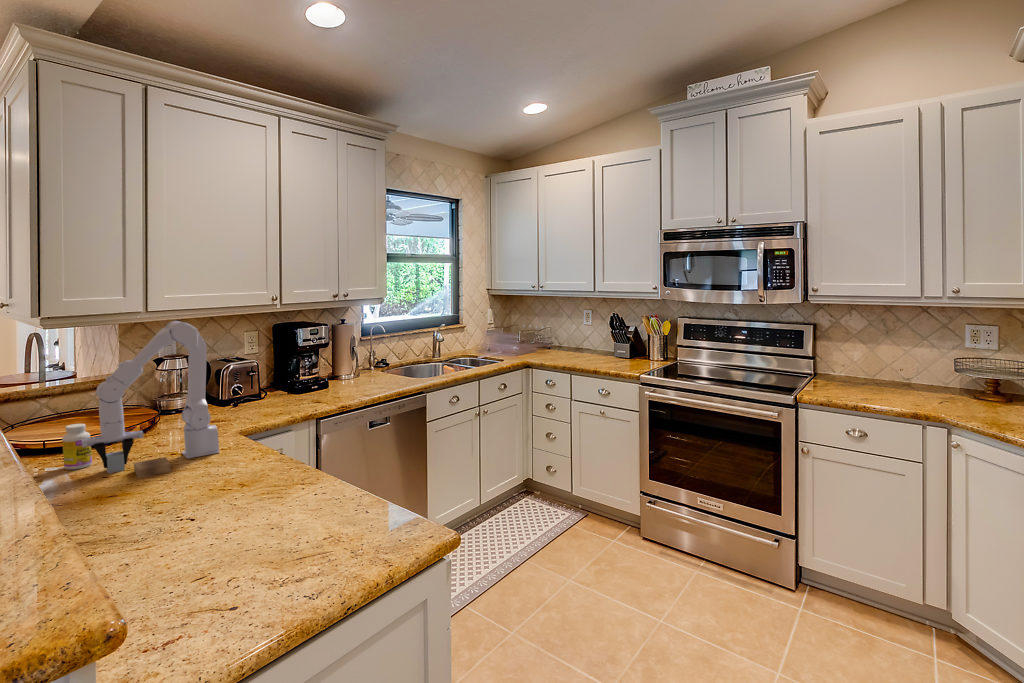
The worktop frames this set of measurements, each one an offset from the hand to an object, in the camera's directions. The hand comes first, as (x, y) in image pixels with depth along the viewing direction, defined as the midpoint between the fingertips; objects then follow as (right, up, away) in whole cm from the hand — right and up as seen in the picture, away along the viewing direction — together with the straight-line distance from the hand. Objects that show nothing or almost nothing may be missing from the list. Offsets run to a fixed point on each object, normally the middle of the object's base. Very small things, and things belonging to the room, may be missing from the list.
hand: (115, 465), depth 157 cm
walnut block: (+12, -2, -1) cm, 12 cm away
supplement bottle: (-13, -1, +3) cm, 14 cm away
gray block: (0, -1, 0) cm, 1 cm away
